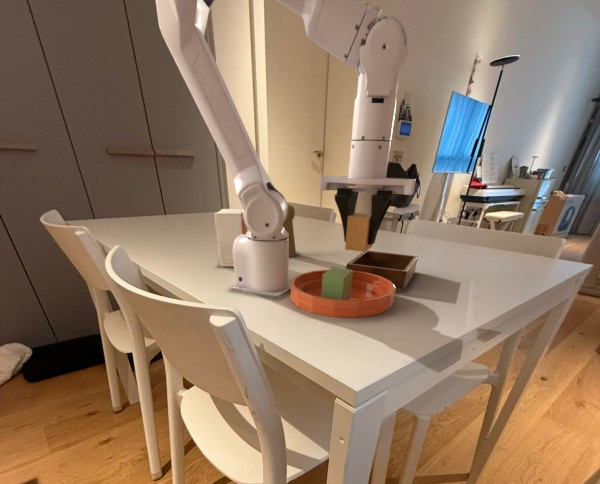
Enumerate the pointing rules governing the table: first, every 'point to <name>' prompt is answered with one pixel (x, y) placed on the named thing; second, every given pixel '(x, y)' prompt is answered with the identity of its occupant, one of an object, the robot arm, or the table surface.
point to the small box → (228, 233)
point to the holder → (386, 266)
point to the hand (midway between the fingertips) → (359, 242)
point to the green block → (337, 284)
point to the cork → (290, 230)
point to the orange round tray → (363, 300)
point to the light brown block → (358, 232)
